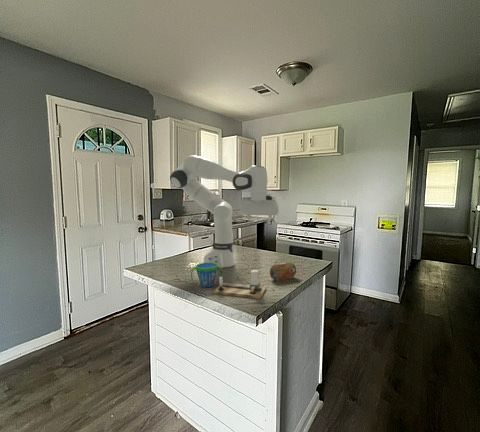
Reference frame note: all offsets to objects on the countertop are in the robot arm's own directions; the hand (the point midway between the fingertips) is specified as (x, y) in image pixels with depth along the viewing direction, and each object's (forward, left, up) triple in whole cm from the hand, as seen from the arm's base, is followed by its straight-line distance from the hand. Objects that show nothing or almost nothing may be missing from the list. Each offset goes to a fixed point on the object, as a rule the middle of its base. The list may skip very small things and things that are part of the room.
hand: (259, 223), depth 140 cm
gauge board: (-4, -21, -29) cm, 36 cm away
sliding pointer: (+3, -21, -27) cm, 35 cm away
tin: (+12, +2, -29) cm, 32 cm away
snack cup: (-22, -18, -29) cm, 41 cm away
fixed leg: (-12, -24, -28) cm, 39 cm away
